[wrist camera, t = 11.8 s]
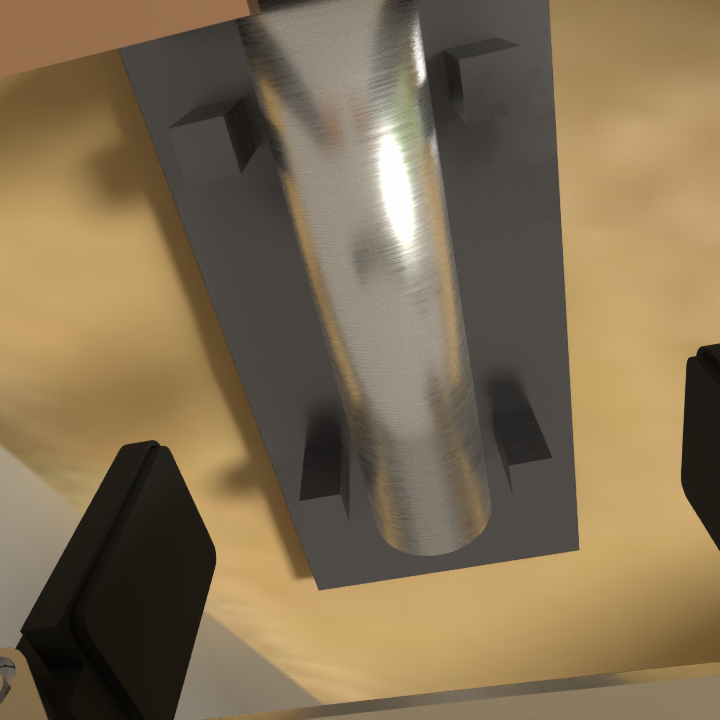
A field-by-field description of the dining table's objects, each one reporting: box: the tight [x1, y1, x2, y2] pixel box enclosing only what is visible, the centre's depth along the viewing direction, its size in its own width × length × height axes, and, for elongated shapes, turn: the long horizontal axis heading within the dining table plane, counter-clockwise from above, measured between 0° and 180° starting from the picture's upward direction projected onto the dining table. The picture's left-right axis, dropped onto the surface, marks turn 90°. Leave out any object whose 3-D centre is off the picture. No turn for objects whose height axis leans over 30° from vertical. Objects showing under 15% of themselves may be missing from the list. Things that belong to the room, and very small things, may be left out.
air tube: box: [235, 0, 491, 556], centre depth 19 cm, size 20×4×4 cm, turn 12°
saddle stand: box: [0, 0, 579, 590], centre depth 18 cm, size 12×28×10 cm, turn 12°
